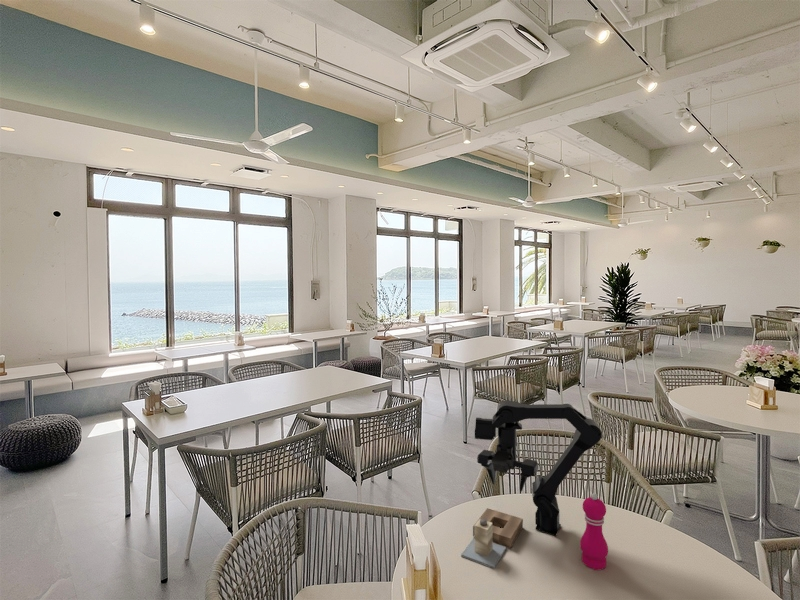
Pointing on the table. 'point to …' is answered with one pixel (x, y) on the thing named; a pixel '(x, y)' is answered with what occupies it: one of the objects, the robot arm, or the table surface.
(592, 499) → the pepper mill
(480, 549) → the plug
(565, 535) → the table surface
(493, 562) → the mat
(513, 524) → the socket block
